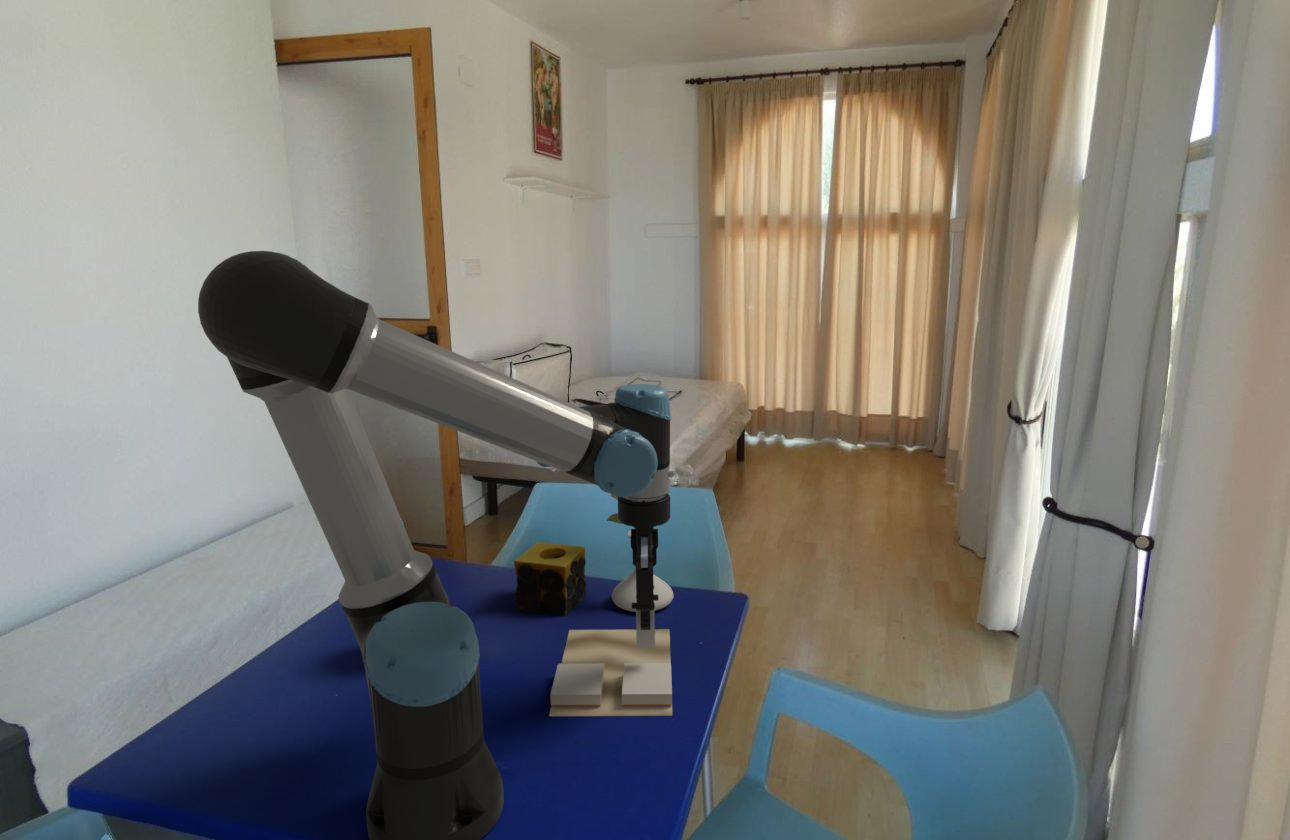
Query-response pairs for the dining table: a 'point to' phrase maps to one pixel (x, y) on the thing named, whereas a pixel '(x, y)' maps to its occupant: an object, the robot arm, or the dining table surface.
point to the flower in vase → (627, 588)
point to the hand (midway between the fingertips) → (645, 644)
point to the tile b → (647, 685)
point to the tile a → (578, 685)
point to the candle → (550, 578)
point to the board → (613, 667)
